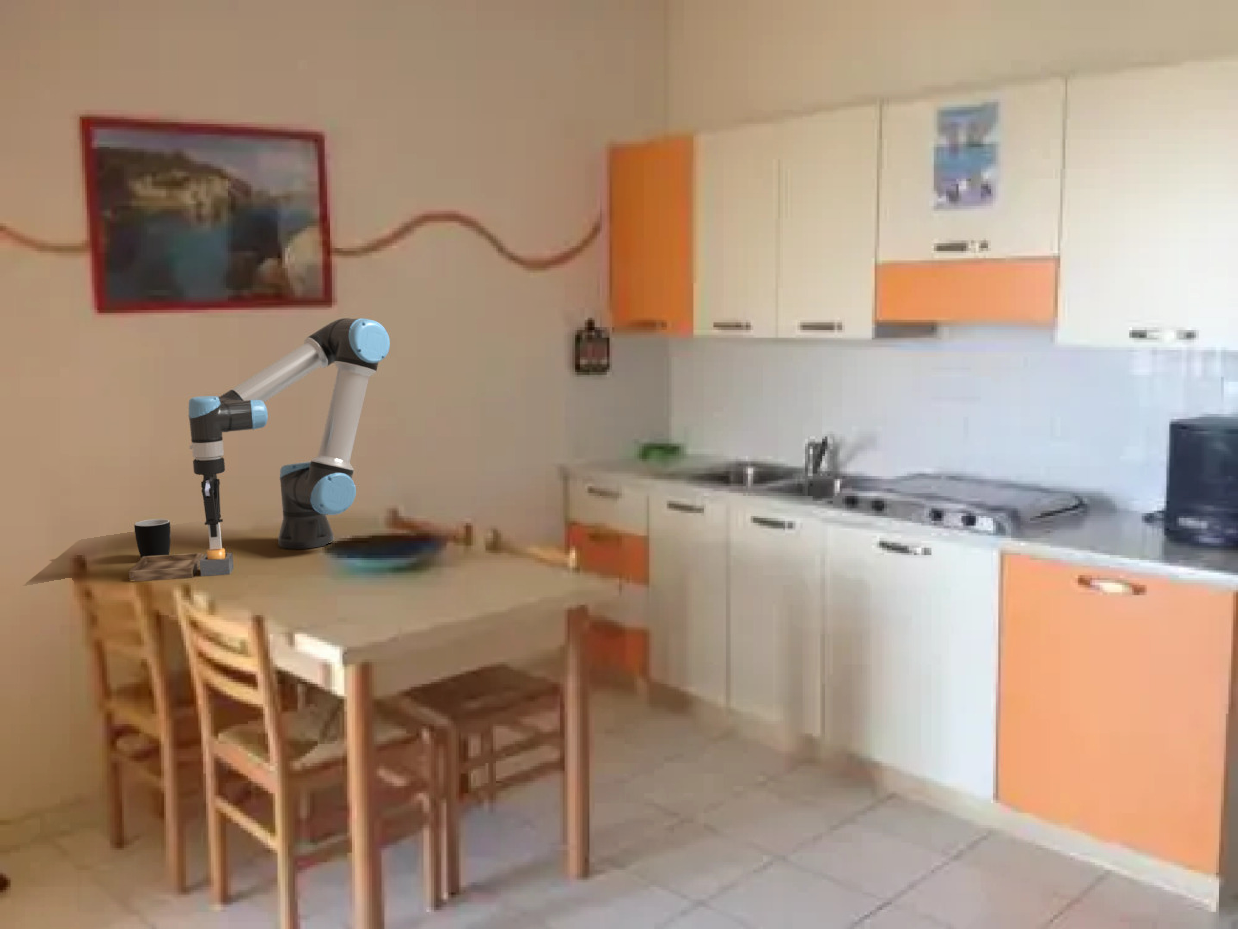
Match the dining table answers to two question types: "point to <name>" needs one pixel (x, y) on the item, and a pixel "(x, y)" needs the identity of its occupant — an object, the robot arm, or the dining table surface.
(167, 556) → the wooden tray
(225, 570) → the button housing
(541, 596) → the dining table surface
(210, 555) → the button
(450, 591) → the dining table surface
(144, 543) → the mug
